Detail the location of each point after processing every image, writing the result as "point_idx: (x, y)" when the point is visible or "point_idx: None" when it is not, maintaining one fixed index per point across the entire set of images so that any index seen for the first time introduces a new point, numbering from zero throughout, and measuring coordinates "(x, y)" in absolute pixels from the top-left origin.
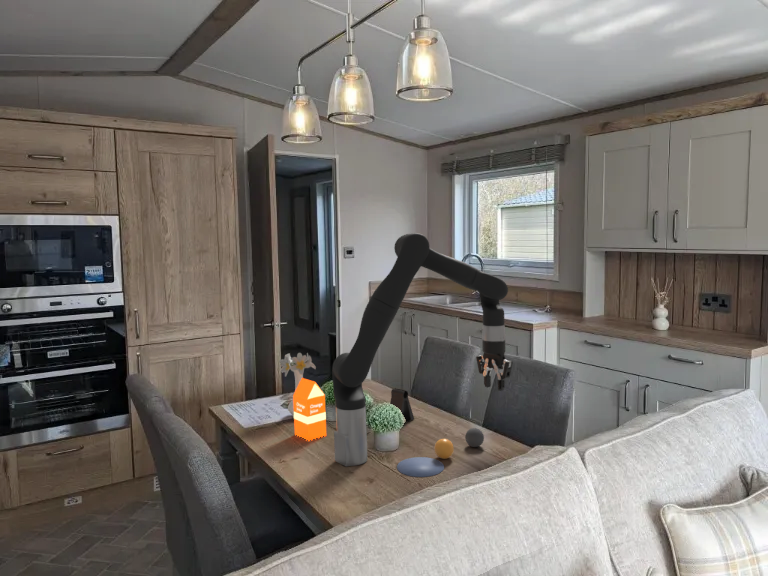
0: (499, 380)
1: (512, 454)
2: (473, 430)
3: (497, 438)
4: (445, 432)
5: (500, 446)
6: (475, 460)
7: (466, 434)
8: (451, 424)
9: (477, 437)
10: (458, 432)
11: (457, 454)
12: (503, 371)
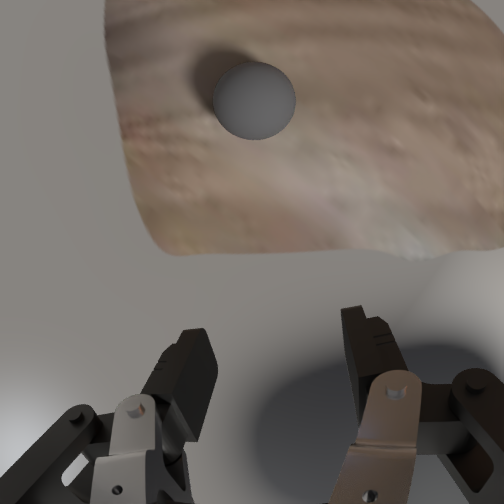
0: (153, 392)
1: (135, 180)
2: (238, 82)
3: (282, 232)
4: (439, 110)
5: (210, 189)
6: (153, 46)
7: (264, 63)
8: (485, 187)
9: (215, 89)
10: (415, 149)
11: (226, 16)
12: (47, 463)
